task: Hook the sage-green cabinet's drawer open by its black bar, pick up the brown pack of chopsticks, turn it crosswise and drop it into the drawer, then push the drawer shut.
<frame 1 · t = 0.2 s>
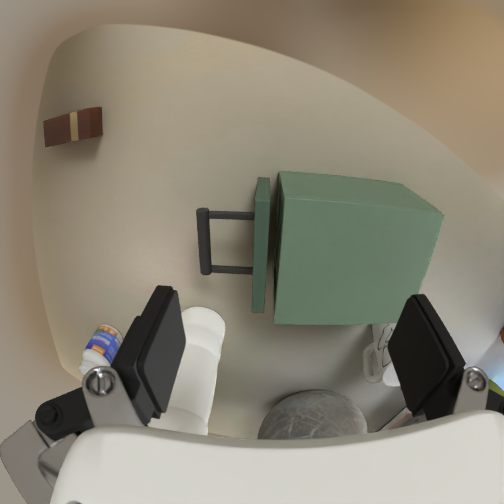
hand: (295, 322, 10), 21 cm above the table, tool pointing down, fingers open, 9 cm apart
pill bottle: (111, 333, 43), on the table
chopstick pack: (77, 125, 26), on the table
water bottle: (202, 321, 40), on the table
cabinet: (337, 228, 31), on the table
drawer: (294, 244, 27), point 5 cm above the table, slide at 1.0 cm
picture frame: (405, 422, 59), on the table
mug: (382, 325, 39), on the table
bowl: (309, 399, 50), on the table
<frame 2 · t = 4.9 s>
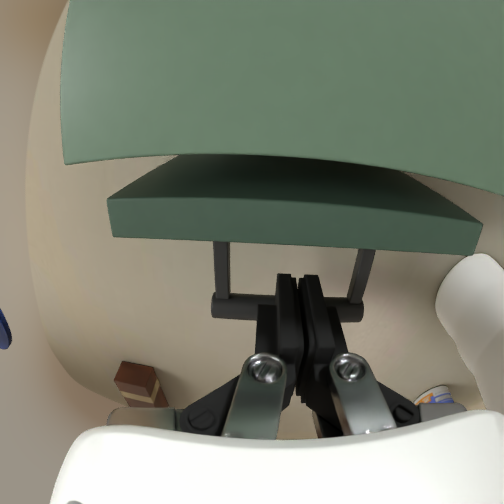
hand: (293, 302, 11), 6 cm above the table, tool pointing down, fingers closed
pill bottle: (429, 395, 26), on the table
chopstick pack: (146, 385, 26), on the table
water bottle: (463, 284, 18), on the table
cabinet: (296, 10, 10), on the table
drawer: (307, 98, 9), point 5 cm above the table, slide at 1.2 cm, touching gripper
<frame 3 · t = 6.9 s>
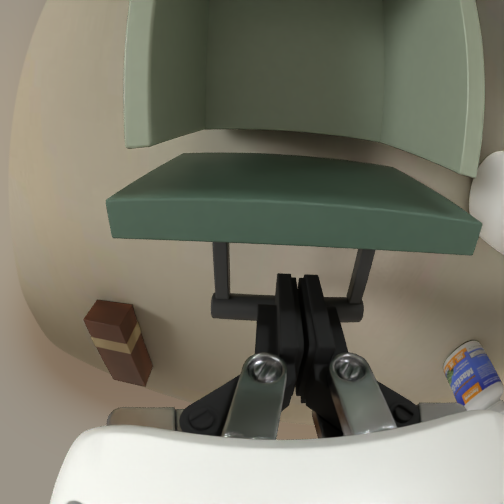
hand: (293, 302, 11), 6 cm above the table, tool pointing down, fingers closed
pill bottle: (460, 354, 22), on the table
chopstick pack: (126, 336, 22), on the table
water bottle: (493, 193, 14), on the table
drawer: (306, 98, 9), point 5 cm above the table, slide at 9.3 cm, touching gripper
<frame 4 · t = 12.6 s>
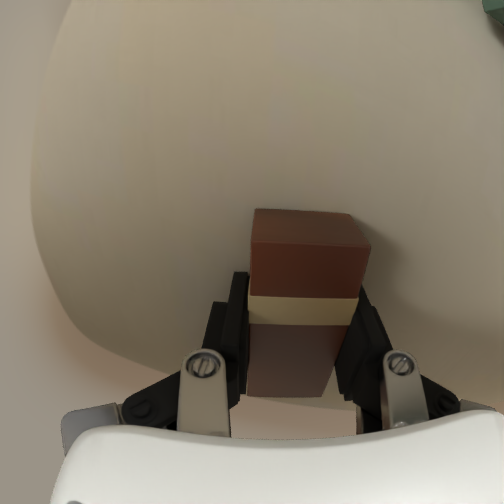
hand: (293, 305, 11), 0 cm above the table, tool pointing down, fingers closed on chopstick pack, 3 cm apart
chopstick pack: (292, 298, 12), on the table, touching gripper
when the fingers open (8 cm above the table, at t = 19.6 s): chopstick pack drops 6 cm, resting on drawer.
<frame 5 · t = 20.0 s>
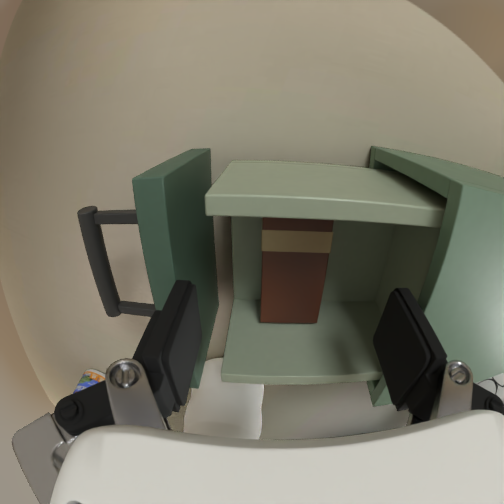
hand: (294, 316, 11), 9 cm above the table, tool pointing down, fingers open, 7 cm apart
pill bottle: (102, 379, 30), on the table
chopstick pack: (291, 245, 17), point 2 cm above the table, touching drawer
water bottle: (229, 373, 26), on the table
cabinet: (439, 240, 18), on the table
drawer: (253, 268, 14), point 5 cm above the table, slide at 9.9 cm, touching chopstick pack, gripper
mug: (456, 359, 25), on the table
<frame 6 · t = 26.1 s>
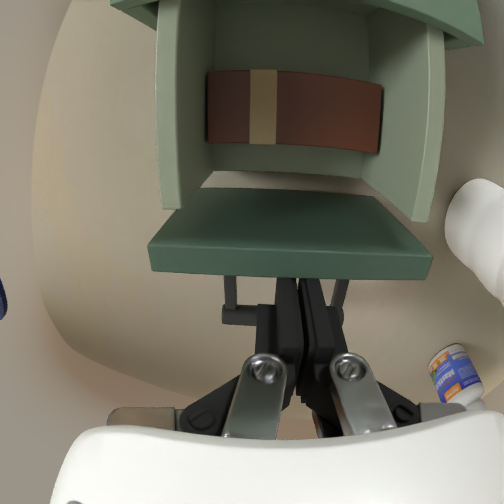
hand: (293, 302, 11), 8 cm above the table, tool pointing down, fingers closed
pill bottle: (444, 356, 26), on the table
chopstick pack: (291, 109, 13), point 2 cm above the table, touching drawer
water bottle: (469, 215, 17), on the table
drawer: (296, 155, 12), point 5 cm above the table, slide at 8.9 cm, touching chopstick pack, gripper
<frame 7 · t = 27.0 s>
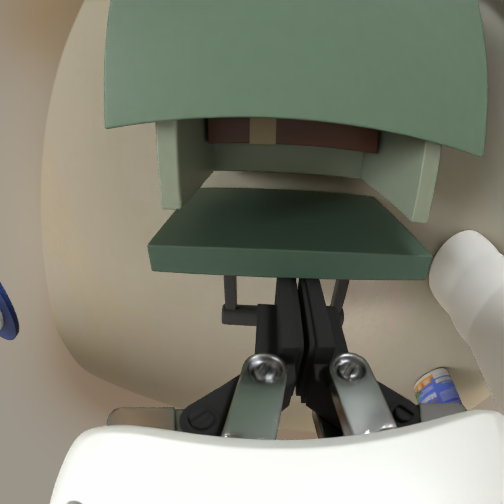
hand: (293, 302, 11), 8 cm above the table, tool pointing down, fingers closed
pill bottle: (429, 378, 28), on the table
chopstick pack: (291, 109, 13), point 2 cm above the table, touching drawer
water bottle: (455, 262, 19), on the table
cabinet: (291, 12, 12), on the table
drawer: (296, 155, 12), point 5 cm above the table, slide at 4.4 cm, touching chopstick pack, gripper
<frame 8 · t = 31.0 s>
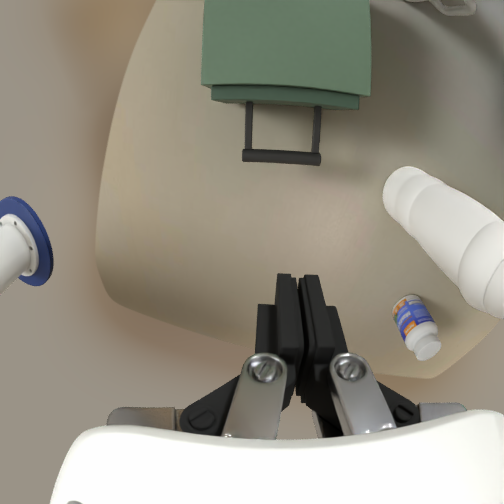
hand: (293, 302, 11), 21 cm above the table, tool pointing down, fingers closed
pill bottle: (405, 306, 38), on the table
water bottle: (404, 192, 29), on the table
cabinet: (282, 34, 22), on the table
drawer: (284, 62, 20), point 5 cm above the table, slide at 0.0 cm, touching cabinet, chopstick pack
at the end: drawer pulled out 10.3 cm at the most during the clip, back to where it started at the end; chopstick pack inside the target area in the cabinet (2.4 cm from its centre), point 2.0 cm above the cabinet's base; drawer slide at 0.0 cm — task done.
